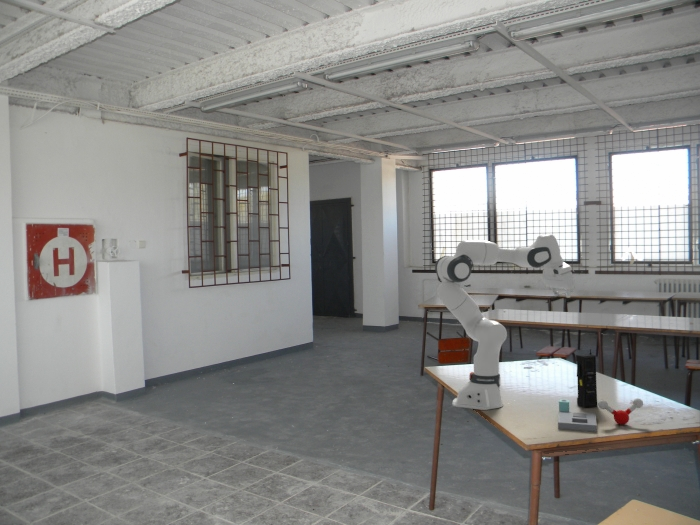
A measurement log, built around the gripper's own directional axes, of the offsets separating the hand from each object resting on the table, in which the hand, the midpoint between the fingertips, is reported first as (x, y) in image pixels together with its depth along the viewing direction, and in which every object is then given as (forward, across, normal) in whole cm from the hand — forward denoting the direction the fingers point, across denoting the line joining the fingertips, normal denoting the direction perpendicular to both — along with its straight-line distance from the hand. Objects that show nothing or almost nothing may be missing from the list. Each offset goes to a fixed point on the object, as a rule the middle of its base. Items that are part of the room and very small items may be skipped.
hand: (562, 296), depth 272 cm
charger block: (+42, +23, -27) cm, 55 cm away
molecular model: (+45, +41, -14) cm, 63 cm away
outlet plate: (+41, +35, -30) cm, 62 cm away
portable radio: (+46, +14, -12) cm, 50 cm away
